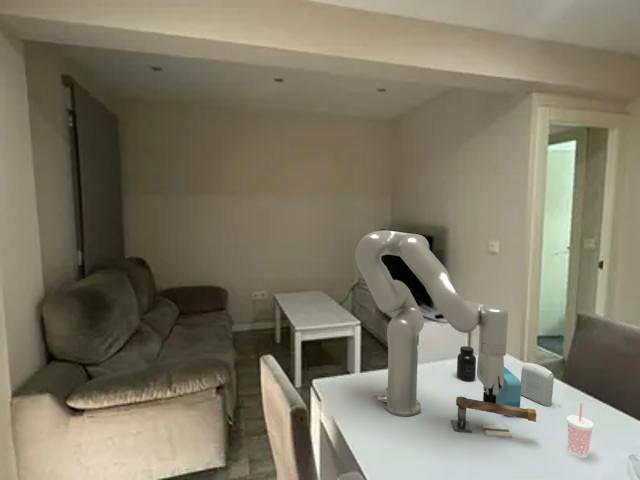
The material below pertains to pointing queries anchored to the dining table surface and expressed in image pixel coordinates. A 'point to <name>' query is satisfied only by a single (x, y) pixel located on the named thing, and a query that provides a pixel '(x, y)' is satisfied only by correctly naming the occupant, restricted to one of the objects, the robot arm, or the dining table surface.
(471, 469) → the dining table surface
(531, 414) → the swing bar
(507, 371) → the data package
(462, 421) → the post
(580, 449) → the beverage cup
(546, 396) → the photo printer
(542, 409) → the dining table surface
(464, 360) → the supplement bottle
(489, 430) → the label tile
